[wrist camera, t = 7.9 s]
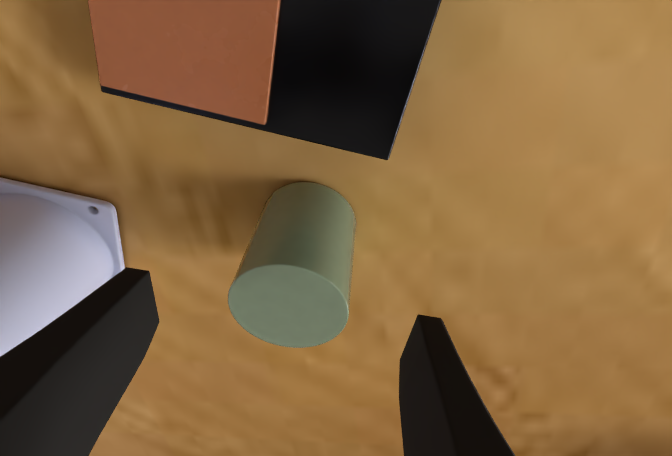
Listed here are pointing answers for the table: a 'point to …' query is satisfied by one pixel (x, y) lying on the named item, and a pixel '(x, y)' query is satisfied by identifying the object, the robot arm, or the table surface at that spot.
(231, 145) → the table surface
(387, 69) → the warmer
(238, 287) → the sage green cylinder
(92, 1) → the tile
